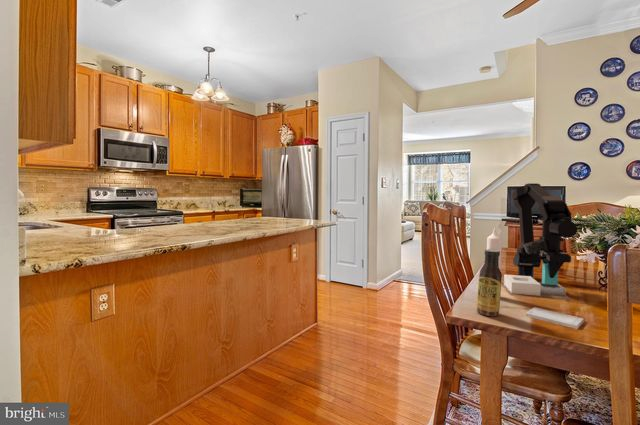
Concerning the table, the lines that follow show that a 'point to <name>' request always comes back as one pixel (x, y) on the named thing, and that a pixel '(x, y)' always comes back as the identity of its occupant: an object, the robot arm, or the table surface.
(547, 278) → the plug
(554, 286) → the holster
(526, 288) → the port box
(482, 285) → the sauce bottle
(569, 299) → the board
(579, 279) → the table surface
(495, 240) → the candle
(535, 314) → the hard drive
